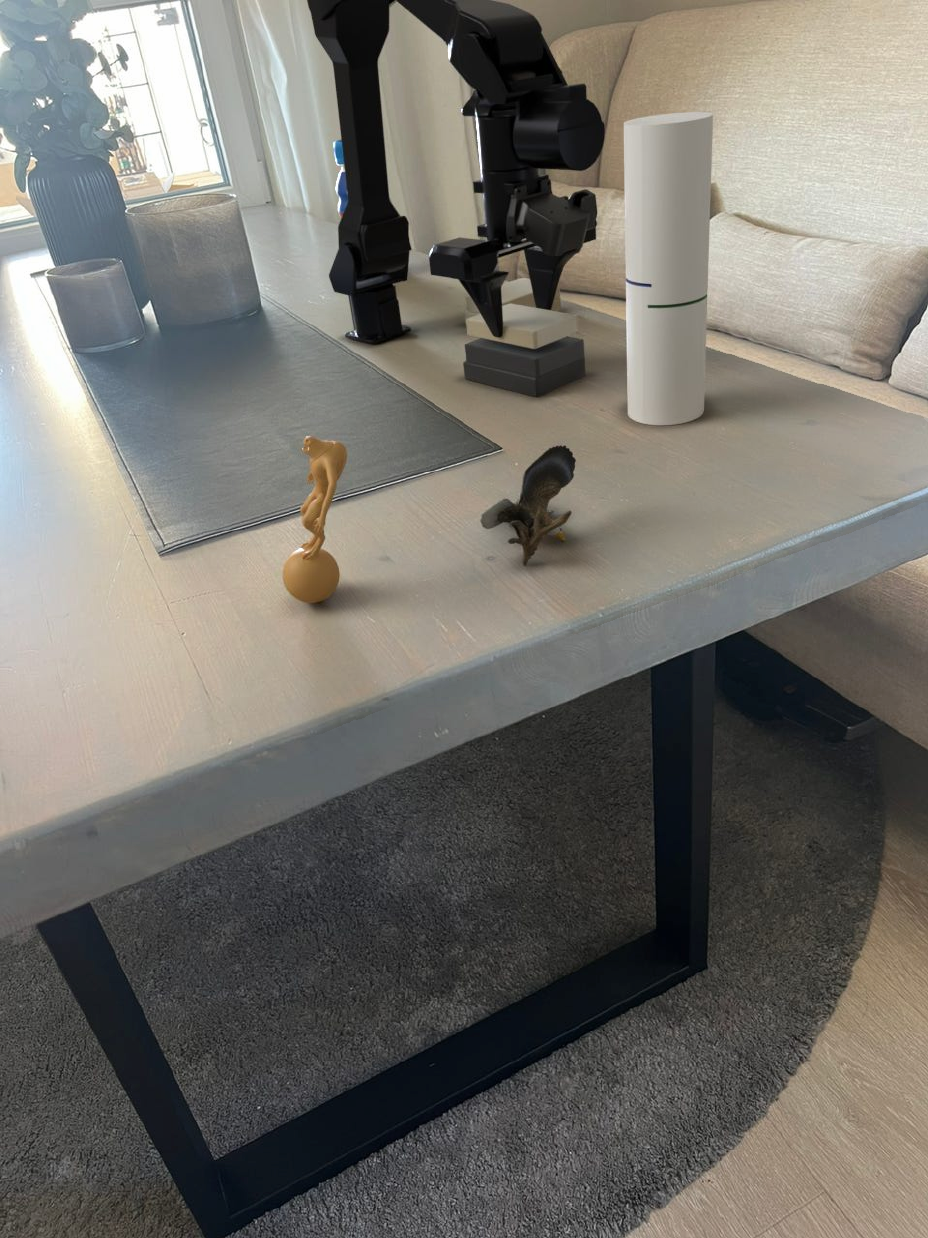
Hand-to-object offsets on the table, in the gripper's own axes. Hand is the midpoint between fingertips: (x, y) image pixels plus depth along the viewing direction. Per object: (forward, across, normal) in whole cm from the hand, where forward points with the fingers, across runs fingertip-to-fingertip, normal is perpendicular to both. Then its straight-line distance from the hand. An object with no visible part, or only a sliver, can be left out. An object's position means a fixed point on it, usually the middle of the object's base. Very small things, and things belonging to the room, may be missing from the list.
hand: (521, 327), depth 100 cm
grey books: (+5, 0, 0) cm, 5 cm away
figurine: (+6, -41, -21) cm, 46 cm away
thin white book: (+1, 0, 0) cm, 1 cm away
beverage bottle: (+6, +23, +57) cm, 62 cm away
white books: (+5, +16, +18) cm, 25 cm away
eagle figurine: (+6, -26, -27) cm, 38 cm away
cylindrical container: (+6, 0, -19) cm, 20 cm away
